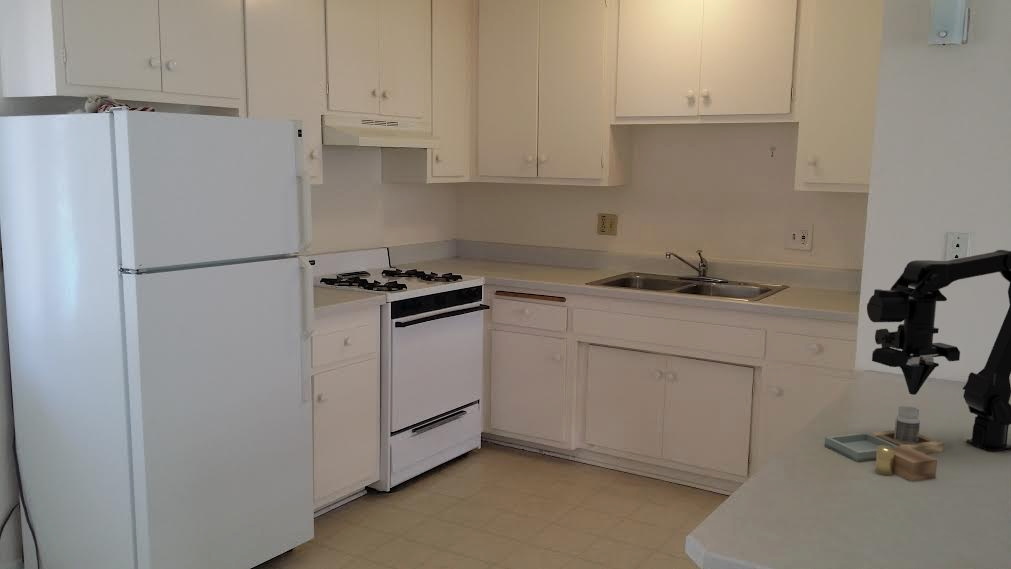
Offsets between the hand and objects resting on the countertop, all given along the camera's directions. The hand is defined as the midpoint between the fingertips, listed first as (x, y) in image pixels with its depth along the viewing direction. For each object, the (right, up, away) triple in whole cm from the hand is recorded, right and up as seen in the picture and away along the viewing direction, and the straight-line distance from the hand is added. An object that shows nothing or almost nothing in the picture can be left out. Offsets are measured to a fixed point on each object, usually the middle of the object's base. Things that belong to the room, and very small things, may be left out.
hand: (912, 394), depth 180 cm
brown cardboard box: (-7, -14, -12) cm, 20 cm away
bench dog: (-12, -14, -13) cm, 22 cm away
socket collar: (0, -12, +3) cm, 12 cm away
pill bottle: (0, -12, +3) cm, 12 cm away
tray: (-11, -12, -1) cm, 16 cm away
